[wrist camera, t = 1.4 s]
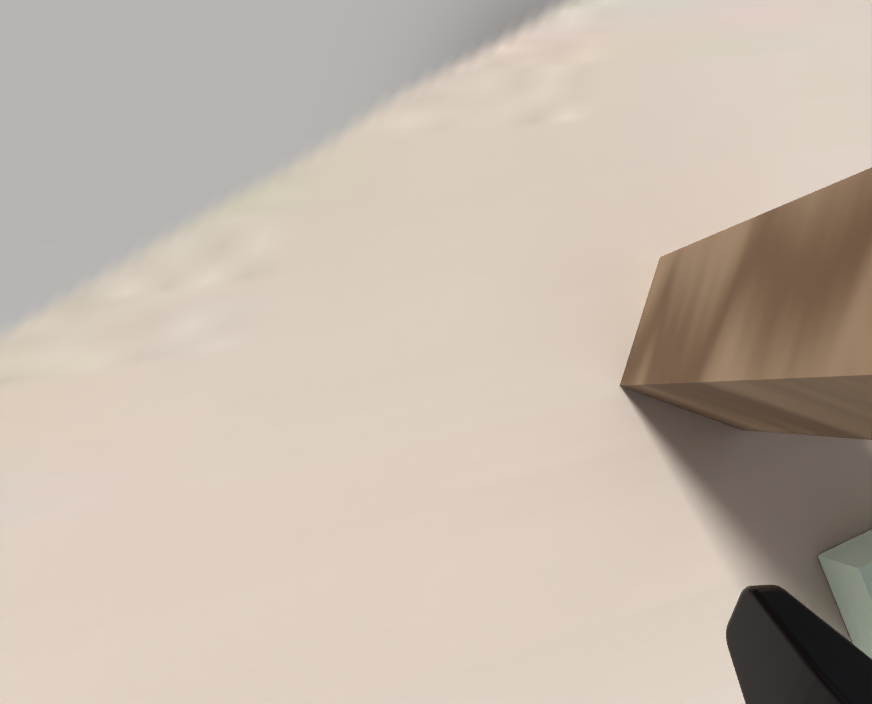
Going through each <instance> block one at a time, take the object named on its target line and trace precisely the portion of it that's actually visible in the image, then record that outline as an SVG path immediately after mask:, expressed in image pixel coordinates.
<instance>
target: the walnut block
mask: <svg viewBox="0 0 872 704" xmlns="http://www.w3.org/2000/svg"><path fill="white" fill-rule="evenodd" d="M620 386H622V387H625V388H628V389H631V390H634V391H636V392H639V393H642V394H645V395H648V396H650V397H653V398H656V399H659V400H661V401H664V402H667V403H670V404H673V405H675V406H678V407H681V408H684V409H686V410H689V411H692V412H695V413H698V414H700V415H703V416H706V417H709V418H711V419H714V420H717V421H720V422H723V423H725V424H728V425H731V426H734V427H736V428H739V429H742V430H752V431H765V432H778V433H791V434H804V435H817V436H830V437H843V438H856V439H869V440H872V168H870V169H867V170H865V171H863V172H860V173H858V174H856V175H853V176H851V177H848V178H846V179H844V180H841V181H839V182H837V183H834V184H832V185H830V186H827V187H825V188H822V189H820V190H818V191H815V192H813V193H811V194H808V195H806V196H804V197H801V198H799V199H797V200H794V201H792V202H789V203H787V204H785V205H782V206H780V207H778V208H775V209H773V210H771V211H768V212H766V213H764V214H761V215H759V216H756V217H754V218H752V219H749V220H747V221H745V222H742V223H740V224H738V225H735V226H733V227H730V228H728V229H726V230H723V231H721V232H719V233H716V234H714V235H712V236H709V237H707V238H705V239H702V240H700V241H697V242H695V243H693V244H690V245H688V246H686V247H683V248H681V249H679V250H676V251H674V252H672V253H669V254H667V255H664V256H662V257H660V259H659V263H658V266H657V269H656V272H655V275H654V278H653V282H652V285H651V288H650V291H649V294H648V298H647V301H646V304H645V307H644V310H643V314H642V317H641V320H640V323H639V326H638V329H637V333H636V336H635V339H634V342H633V345H632V349H631V352H630V355H629V358H628V361H627V365H626V368H625V371H624V374H623V377H622V380H621V384H620Z"/></svg>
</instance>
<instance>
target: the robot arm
mask: <svg viewBox="0 0 872 704" xmlns="http://www.w3.org/2000/svg"><path fill="white" fill-rule="evenodd" d="M726 640H727V645H728V649H729V652H730V655H731V658H732V662H733V665H734V668H735V671H736V674H737V678H738V681H739V684H740V687H741V690H742V693H743V697H744V700H745V703H746V704H872V659H871V658H870V657H869V656H868V655H866V654H865V653H864V652H863V651H861V650H860V649H859V648H857V647H856V646H855V645H854V644H852V643H851V642H850V641H849V640H847V639H846V638H845V637H844V636H842V635H841V634H840V633H839V632H837V631H836V630H835V629H834V628H832V627H831V626H830V625H829V624H827V623H826V622H825V621H823V620H822V619H821V618H820V617H818V616H817V615H816V614H815V613H813V612H812V611H811V610H810V609H808V608H807V607H806V606H805V605H803V604H802V603H801V602H800V601H798V600H797V599H796V598H794V597H793V596H792V595H791V594H789V593H788V592H787V591H786V590H784V589H783V588H781V587H779V586H776V585H758V586H748V587H746V588H745V589H744V590H743V591H742V592H741V594H740V597H739V599H738V601H737V604H736V606H735V608H734V611H733V613H732V615H731V618H730V620H729V622H728V625H727V630H726Z"/></svg>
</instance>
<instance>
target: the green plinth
mask: <svg viewBox="0 0 872 704" xmlns="http://www.w3.org/2000/svg"><path fill="white" fill-rule="evenodd" d="M817 556H818V558H819V561H820V563H821V566H822V568H823V570H824V573H825V575H826V578H827V580H828V583H829V585H830V588H831V590H832V593H833V595H834V598H835V600H836V603H837V605H838V608H839V610H840V613H841V615H842V618H843V620H844V623H845V625H846V628H847V630H848V633H849V635H850V638H851V640H852V643H853V644H854V645H855V646H856V647H857V648H859V649H860V650H861V651H863V652H864V653H865V654H866V655H868V656H869V657H870V658H871V659H872V529H871V530H869V531H867V532H865V533H862V534H860V535H858V536H856V537H854V538H852V539H850V540H848V541H846V542H844V543H842V544H840V545H838V546H836V547H834V548H831V549H829V550H827V551H825V552H823V553H821V554H819V555H817Z"/></svg>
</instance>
